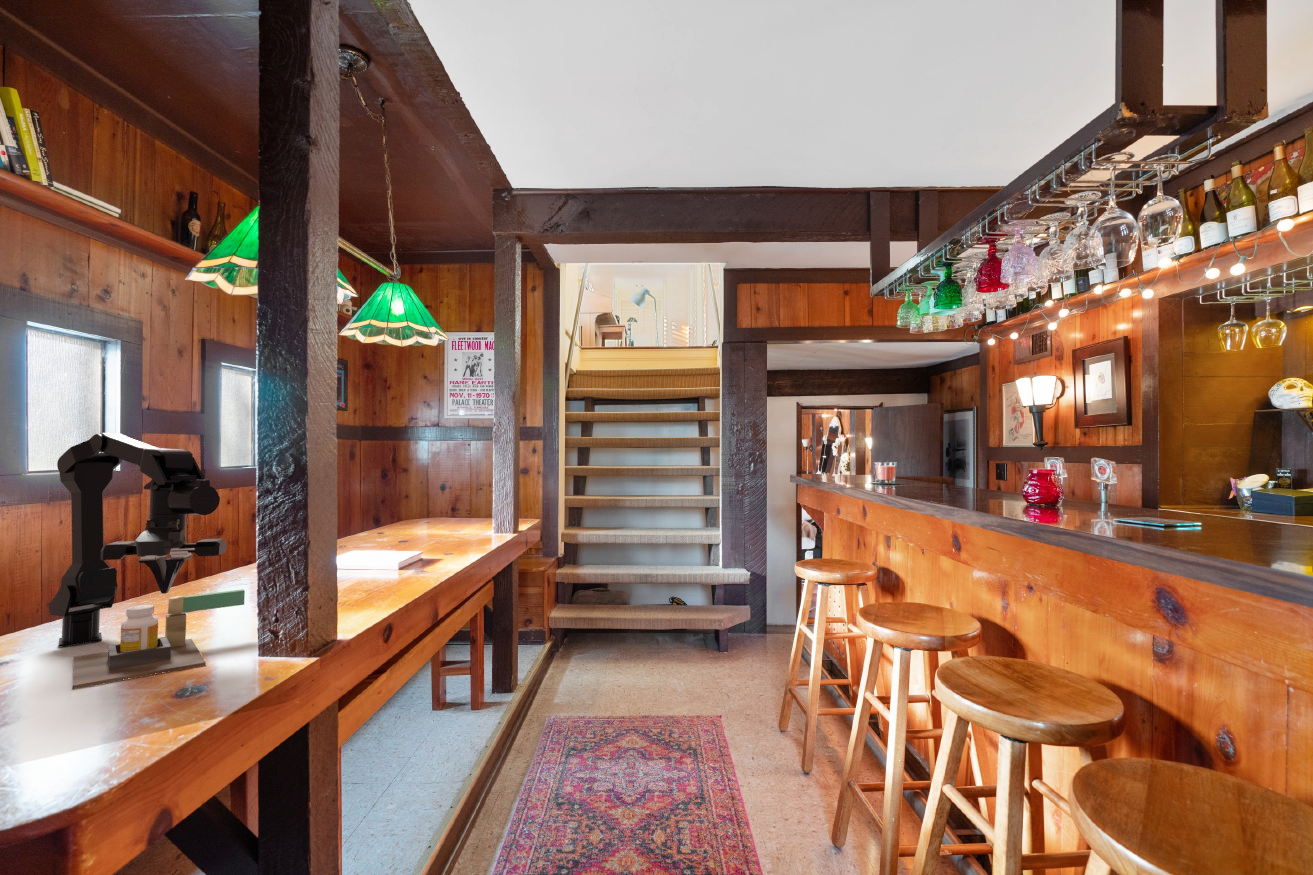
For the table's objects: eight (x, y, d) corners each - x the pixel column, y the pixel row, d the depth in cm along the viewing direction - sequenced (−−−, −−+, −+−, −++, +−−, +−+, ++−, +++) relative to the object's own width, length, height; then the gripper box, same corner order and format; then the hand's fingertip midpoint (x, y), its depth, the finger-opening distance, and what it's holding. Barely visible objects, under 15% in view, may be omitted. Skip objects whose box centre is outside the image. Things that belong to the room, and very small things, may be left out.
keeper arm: (168, 614, 124) (169, 599, 124) (167, 612, 126) (167, 597, 126) (244, 604, 132) (245, 590, 132) (242, 602, 134) (242, 588, 134)
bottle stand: (73, 659, 117) (74, 624, 117) (191, 641, 129) (192, 609, 130) (72, 689, 103) (73, 648, 103) (205, 665, 115) (206, 629, 115)
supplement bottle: (151, 652, 120) (153, 602, 120) (161, 658, 117) (163, 606, 117) (115, 660, 115) (117, 607, 116) (124, 665, 112) (126, 611, 113)
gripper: (87, 518, 111) (83, 606, 110) (211, 515, 118) (208, 598, 117) (115, 512, 121) (112, 593, 121) (228, 511, 128) (225, 587, 127)
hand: (164, 593), depth 121 cm, fingers closed
